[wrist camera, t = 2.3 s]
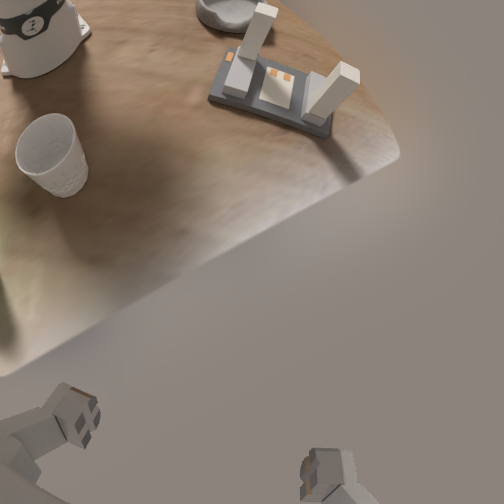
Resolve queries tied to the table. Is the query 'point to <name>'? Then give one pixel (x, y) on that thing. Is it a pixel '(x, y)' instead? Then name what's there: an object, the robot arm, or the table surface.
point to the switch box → (269, 91)
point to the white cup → (52, 155)
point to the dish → (227, 14)
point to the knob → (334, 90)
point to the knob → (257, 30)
